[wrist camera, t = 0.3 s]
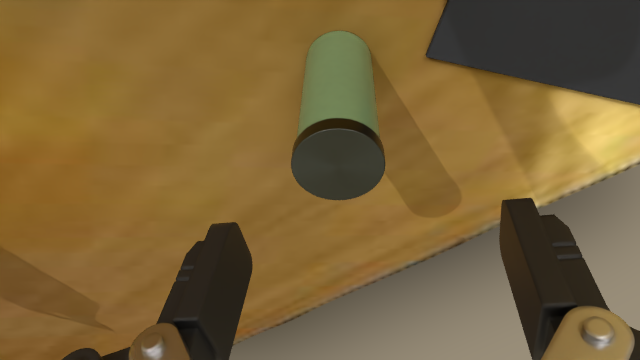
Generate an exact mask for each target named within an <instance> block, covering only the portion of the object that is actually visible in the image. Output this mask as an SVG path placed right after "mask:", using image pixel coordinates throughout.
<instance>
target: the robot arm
mask: <svg viewBox="0 0 640 360" xmlns="http://www.w3.org/2000/svg"><path fill="white" fill-rule="evenodd" d="M499 239H500V250H501V256H502V260H503V263H504V266H505V270H506V273H507V276H508V280H509V283H510V286H511V290H512V293H513V297H514V300H515V303H516V307H517V310H518V313H519V317H520V320H521V323H522V327H523V330H524V333H525V336H526V340H527V343H528V347H529V350H530V353H531V357H532V360H640V331H638V330H636V329H633V328H632V327H629V326H628V325H627V324H626V322H624V320H622V319H621V318H620V317H619V316H617V315H616V314H614V313H612V312H611V311H610V310H609V308H608V307H607V305H606V303H605V301H604V299H603V297H602V295H601V293H600V291H599V289H598V287H597V285H596V283H595V281H594V279H593V277H592V274H591V272H590V270H589V268H588V266H587V264H586V262H585V260H584V259H583V258H582V254H581V252H580V250H579V248H578V246H576V241H575V239H574V237H573V235H572V233H571V231H570V229H569V227H568V226H567V225H565V224H564V223H563V222H562V221H561V220H559V219H558V218H557V217H556V216H555V215H542V216H540V215H539V213H538V211H537V208H536V206H535V204H534V201H533V200H532V198H522V199H510V200H503V201H502V206H501V221H500V238H499ZM251 274H252V257H251V254H250V251H249V249H248V247H247V244H246V242H245V240H244V237H243V235H242V233H241V230H240V228H239V226H238V224H237V223H235V222H231V223H219V224H212V225H211V226H210V228H209V230H208V233H207V235H206V238H205V240H204V241H198V242H197V243H196V244H195V245H194V246H193V247H192V248H191V249H190V251H189V252H188V253H187V254H186V256H185V259H184V261H183V263H182V266H181V270H179V273H178V275H177V277H176V282H174V284H173V287H172V289H171V291H170V294H169V296H168V298H167V301H166V303H165V305H164V308H163V310H162V312H161V315H160V317H159V319H158V321H157V323H156V325H153V326H151V327H149V328H147V329H146V330H144V331H143V332H142V333H140V334H139V335H138V337H137V338H136V339H135V340H134V342H133V343H132V345H131V347H128V348H126V349H123V350H120V351H117V352H114V353H111V354H108V355H105V356H102V357H101V356H100V355H99V354H98V352H96V351H95V350H94V349H91V348H83V349H79V350H76V351H74V352H72V353H70V354H69V355H67V356H66V357H64V358H63V359H62V360H229V356H230V353H231V349H232V345H233V341H234V338H235V334H236V330H237V326H238V323H239V319H240V315H241V311H242V308H243V304H244V300H245V296H246V293H247V289H248V285H249V281H250V278H251Z"/></svg>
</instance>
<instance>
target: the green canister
mask: <svg viewBox="0 0 640 360" xmlns="http://www.w3.org/2000/svg"><path fill="white" fill-rule="evenodd" d="M291 168H292V173H293V175H294V177H295V179H296V181H297V182H298V183H299V185H300V186H301V187H302V188H304V189H305V190H306V191H308V192H309V193H311V194H313V195H315V196H318V197H321V198H324V199H330V200H347V199H352V198H356V197H359V196H361V195H363V194H365V193H367V192H369V191H370V190H372V189H373V188H374V187H375V186H376V185H377V184H378V183H379V181H380V180H381V178H382V176H383V174H384V171H385V156H384V149H383V145H382V142H381V140H380V135H379V126H378V117H377V107H376V98H375V89H374V79H373V70H372V61H371V54H370V51H369V48H368V46H367V45H366V44H365V42H364V41H363V40H362V39H361V38H359V37H358V36H356V35H354V34H352V33H349V32H345V31H333V32H329V33H326V34H324V35H322V36H320V37H319V38H318V39H316V40H315V41H314V42H313V44H312V45H311V47H310V48H309V51H308V54H307V59H306V67H305V75H304V84H303V92H302V100H301V108H300V116H299V125H298V133H297V139H296V141H295V143H294V146H293V152H292V159H291Z"/></svg>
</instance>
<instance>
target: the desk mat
mask: <svg viewBox="0 0 640 360" xmlns="http://www.w3.org/2000/svg"><path fill="white" fill-rule="evenodd" d="M426 57H429V58H433V59H437V60H442V61H446V62H451V63H455V64H460V65H464V66H469V67H473V68H478V69H482V70H487V71H491V72H495V73H500V74H504V75H509V76H513V77H518V78H522V79H527V80H531V81H536V82H540V83H545V84H549V85H554V86H558V87H562V88H567V89H571V90H576V91H580V92H585V93H589V94H594V95H598V96H603V97H607V98H612V99H616V100H620V101H625V102H629V103H634V104H638V105H640V0H448V1H447V4H446V6H445V9H444V11H443V14H442V16H441V18H440V21H439V23H438V26H437V28H436V31H435V33H434V36H433V38H432V41H431V43H430V45H429V48H428V50H427V53H426Z"/></svg>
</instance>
